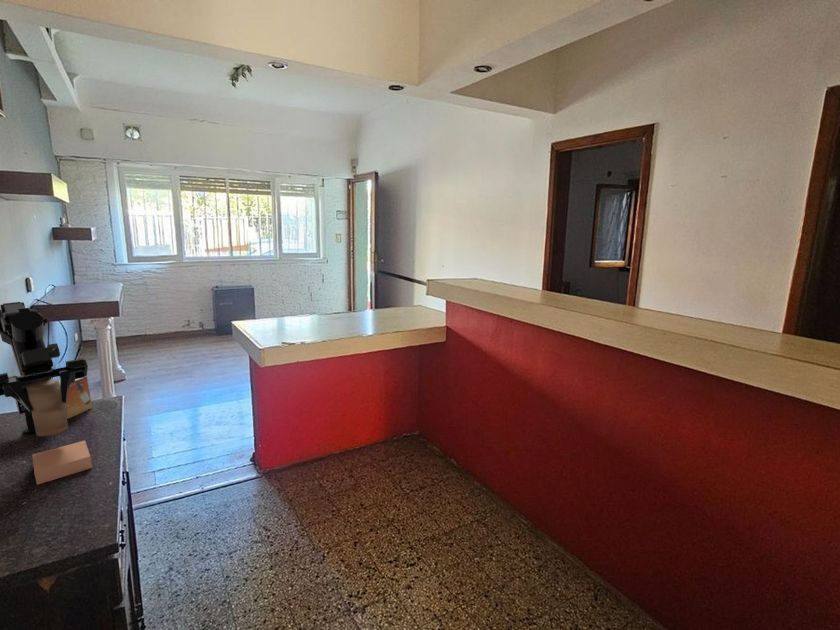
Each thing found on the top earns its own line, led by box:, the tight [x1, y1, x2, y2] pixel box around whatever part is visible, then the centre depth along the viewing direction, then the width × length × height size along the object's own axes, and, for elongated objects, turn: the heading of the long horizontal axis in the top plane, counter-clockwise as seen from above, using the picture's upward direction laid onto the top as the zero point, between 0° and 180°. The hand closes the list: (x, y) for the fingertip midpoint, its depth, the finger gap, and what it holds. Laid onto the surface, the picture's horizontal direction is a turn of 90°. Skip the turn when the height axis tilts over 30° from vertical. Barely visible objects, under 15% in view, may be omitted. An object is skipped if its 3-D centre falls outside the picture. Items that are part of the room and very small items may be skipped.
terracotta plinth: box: [32, 440, 93, 486], centre depth 103 cm, size 10×10×3 cm
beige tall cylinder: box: [26, 378, 69, 437], centre depth 105 cm, size 6×6×12 cm
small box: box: [58, 376, 93, 420], centre depth 130 cm, size 8×6×10 cm
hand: (48, 406), depth 104 cm, fingers closed on beige tall cylinder, 6 cm apart
